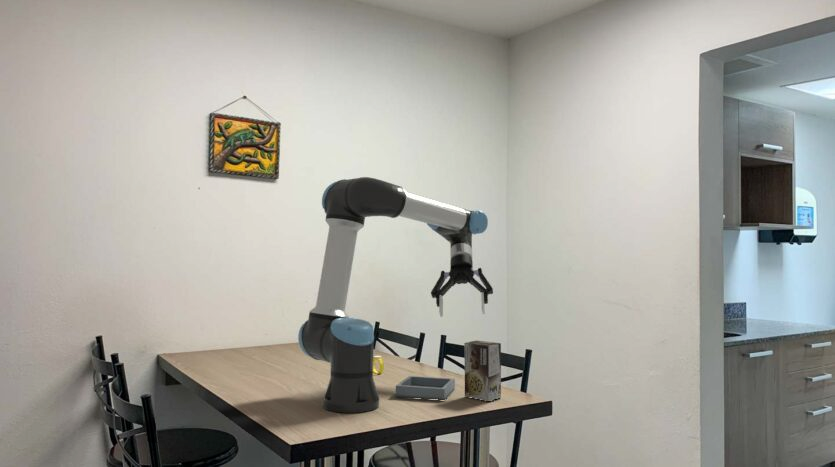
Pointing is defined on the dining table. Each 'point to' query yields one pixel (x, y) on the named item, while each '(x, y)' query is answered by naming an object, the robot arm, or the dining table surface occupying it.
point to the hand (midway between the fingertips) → (462, 313)
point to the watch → (380, 364)
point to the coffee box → (483, 370)
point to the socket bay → (425, 388)
